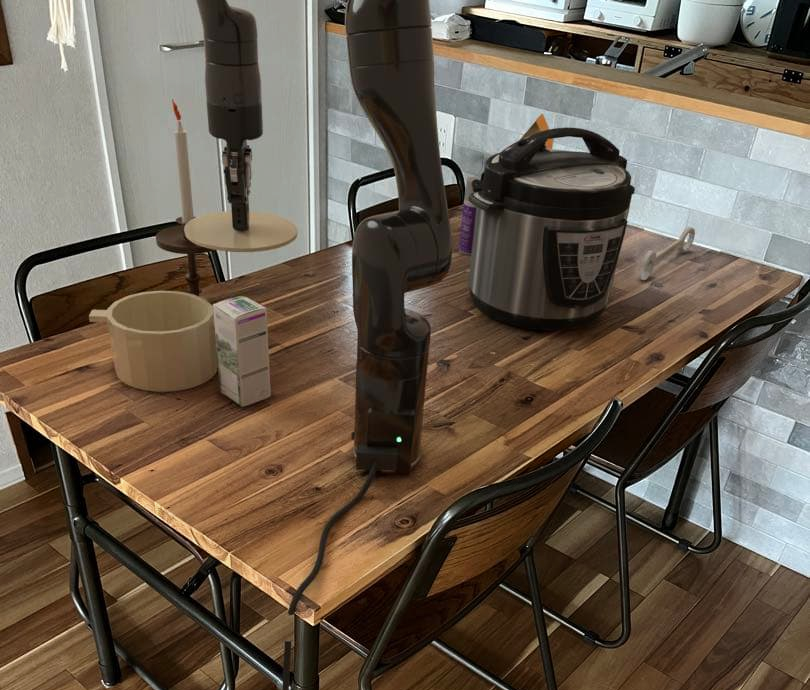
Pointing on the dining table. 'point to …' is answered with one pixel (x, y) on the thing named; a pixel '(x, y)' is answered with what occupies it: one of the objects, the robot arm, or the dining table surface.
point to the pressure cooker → (549, 231)
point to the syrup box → (242, 350)
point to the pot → (161, 340)
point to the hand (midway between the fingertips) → (241, 225)
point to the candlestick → (183, 213)
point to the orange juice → (539, 130)
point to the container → (468, 220)
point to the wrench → (666, 252)
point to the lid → (240, 232)
